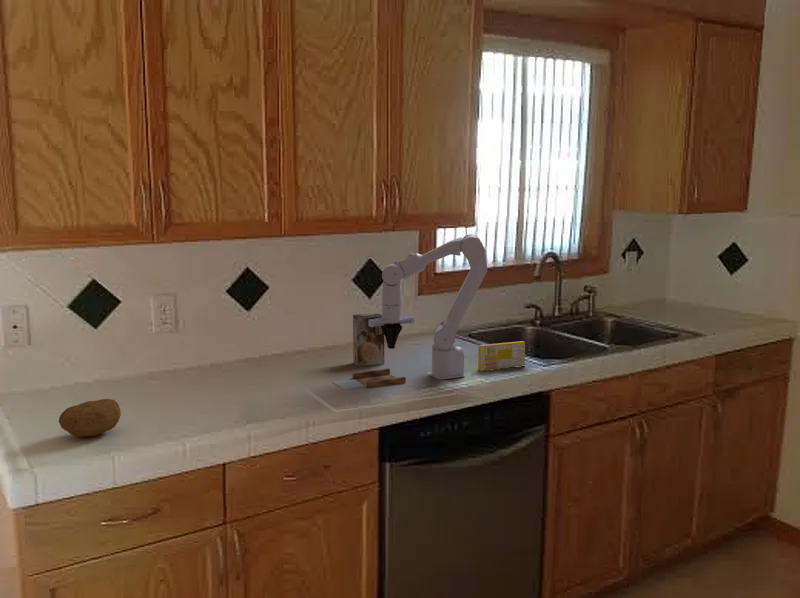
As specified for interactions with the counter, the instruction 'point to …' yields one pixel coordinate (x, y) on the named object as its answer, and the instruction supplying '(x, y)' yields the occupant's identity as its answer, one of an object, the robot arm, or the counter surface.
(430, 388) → the counter surface
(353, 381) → the cover plate
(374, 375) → the tray
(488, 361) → the candy box
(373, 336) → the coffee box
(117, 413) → the potato
